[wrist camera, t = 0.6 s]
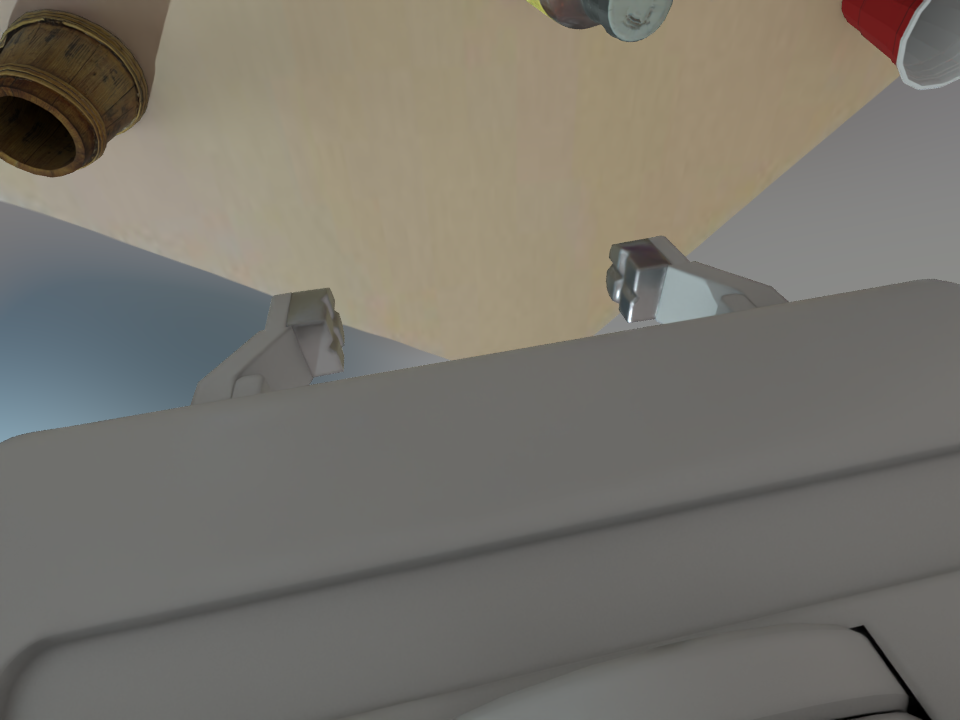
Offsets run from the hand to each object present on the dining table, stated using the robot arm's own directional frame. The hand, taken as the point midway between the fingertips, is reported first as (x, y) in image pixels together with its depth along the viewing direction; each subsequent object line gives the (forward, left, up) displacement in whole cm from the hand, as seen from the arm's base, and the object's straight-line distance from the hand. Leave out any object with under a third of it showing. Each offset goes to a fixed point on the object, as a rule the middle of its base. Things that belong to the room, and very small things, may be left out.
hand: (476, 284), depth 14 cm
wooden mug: (-10, -24, -39) cm, 47 cm away
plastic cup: (+28, +40, -39) cm, 62 cm away
